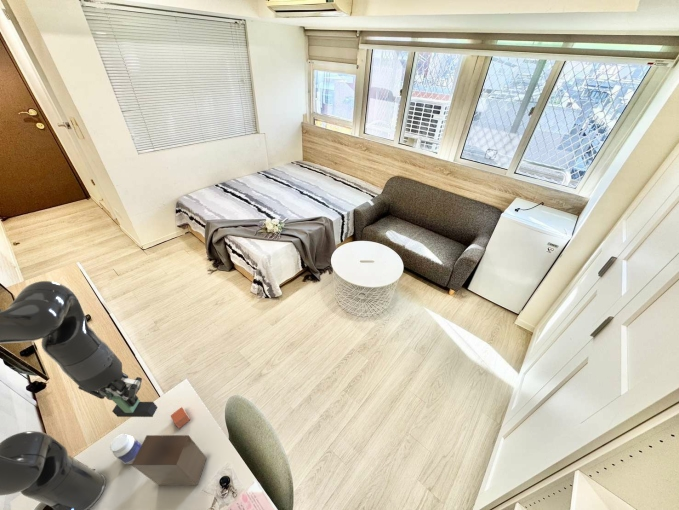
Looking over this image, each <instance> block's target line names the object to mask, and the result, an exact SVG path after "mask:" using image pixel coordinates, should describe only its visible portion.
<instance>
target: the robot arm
mask: <svg viewBox="0 0 679 510" xmlns="http://www.w3.org/2000/svg"><path fill="white" fill-rule="evenodd" d="M38 340H41V348H42V350H43V351H44V353H45V354H46V355H47V356H48V357H50V359H51V360H53V362H55V363H56V364H57V365H58V366H59V368H60V369H61V370H62V372H63V373H64V374H65V375H66V376H67V377H68V378H69V379H71V380H72V381H73V382H74V383H75V384H76V385H77V386H78V387H77V388H78V389H79V390H81V391H83V392H85V393H88V394H89V395H92V396H94V397H96V398H98V399H101V400H103V399H105V398H106V399H107V400H108V401H113V400H112V399H111V398H112V397H113V395H114V396H115V397H121V398H122V399H123V400H124V401H125V402H126V403H127V404H128V405H129V406H130V407H133V406H134V405H135V403H136V402H137V400H138V399H139V397H138V396H137V394H138V392H139V391H140V389H141V386H142V382H143V378H142V377H140V376H137V377H136V378H134V379H133V378H129V375H128V374H127V373H124V372H123V363H122V361H121V359H120V358H119V357H118V355H116V354H115V352H114V351H113V350H112V349H111V348H110V346H109V345H108V344H107V343H106V342H105V341H104V340H102V339H101V338H100V337H99V336H98V335H97V334H96V332H95V331H94V330H93V329H92V328H91V327H90V325H89V323H88V321H87V318H86V315H85V313H84V310H83V308H82V305H81V303H80V300H79V299H78V297H77V295H76V294H75V293H74V292H73V290H71V289H70V288H69V287H67V286H66V285H64V284H62V283H59V282H56V281H50V280H41V281H36V282H33V283H31V284H29V285H27V286H26V287H24V288H23V289H22V290H21V291H20V292H19V293H18V295H17V296H16V297H15V298H14V300H13V302H12V303H11V304H10V305H9V307H8V308H6V309H4V310H2V309H1V308H0V345H1V344H12V343H13V344H15V343H16V344H17V343H29V342H35V341H38ZM126 390H127V391H126ZM125 391H126V393H125ZM106 480H107V479H106V477H105V476H104V475H103V474H101V473H99V472H97V471H96V468H91V467H89V466H88V465H86V464H84V463H83V462H81V461H79V460H77V458H75V457H72V455H70V454H69V453H68V450H67V448H66V447H65V446H64V445H63V444H62V443H61V442H59V441H58V440H57V439H55V438H54V437H53V436H52V435H50V434H48V433H45V432H42V431H37V430H36V431H35V430H29V431H21V432H19V433H16V434H13V435H10V436H8V437H6V438H5V439H3V440H2V441H1V442H0V496H8V495H9V496H10V495H13V494H17V493H20V494H21V495H22V496H24V497H27V498H29V499H32V500H34V501H37V502H39V503H41V504H44V505H47V506H49V507H51V508H52V510H90V509H91V508H92V507H93V506H94V505H95V504H96V503H97V502H98V500H99V499H100V498H101V497H102V495H103V493H104V491H105V489H106V483H107V481H106Z"/></svg>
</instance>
